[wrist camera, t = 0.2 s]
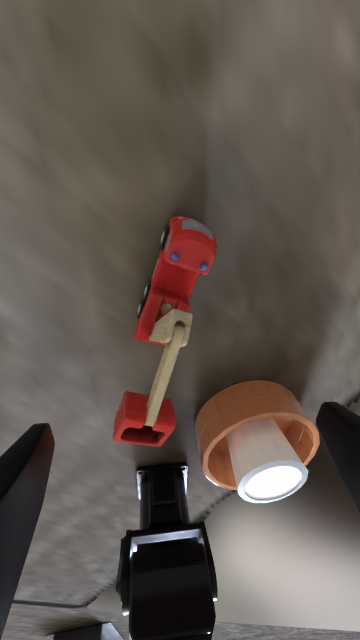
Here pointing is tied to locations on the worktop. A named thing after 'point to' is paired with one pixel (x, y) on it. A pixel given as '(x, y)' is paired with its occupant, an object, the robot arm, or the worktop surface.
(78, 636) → the black wifi router
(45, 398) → the worktop surface
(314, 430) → the bowl
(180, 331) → the toy fire truck
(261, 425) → the shot glass
